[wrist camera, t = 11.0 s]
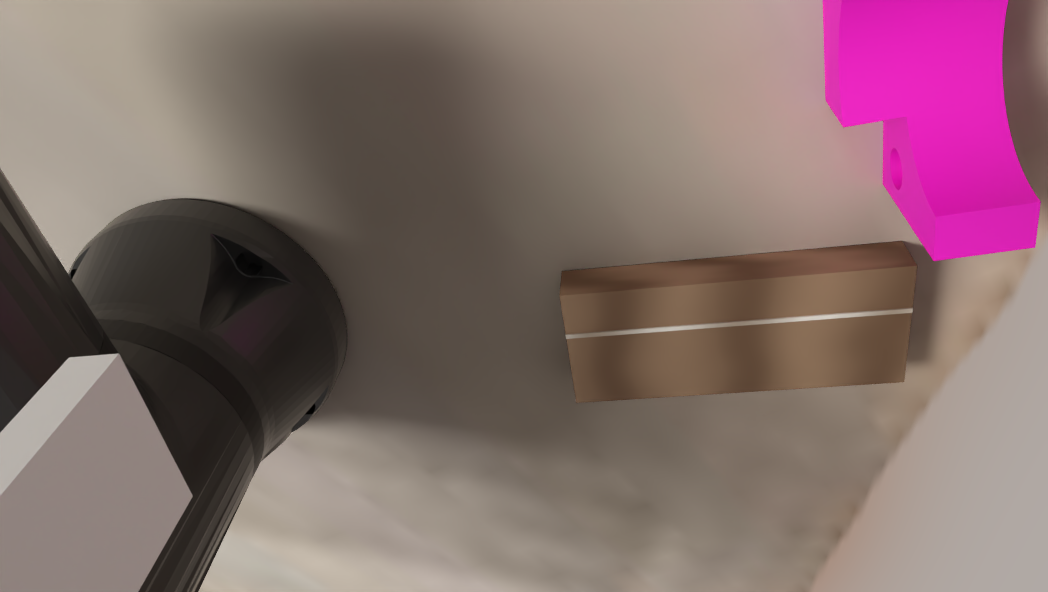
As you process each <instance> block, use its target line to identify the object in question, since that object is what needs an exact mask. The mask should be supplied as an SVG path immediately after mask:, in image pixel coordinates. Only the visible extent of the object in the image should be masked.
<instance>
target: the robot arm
mask: <svg viewBox="0 0 1048 592" xmlns="http://www.w3.org/2000/svg"><path fill="white" fill-rule="evenodd" d="M346 347H347V330H346V322H345V317H344V314H343V310H342V307H341V304H340V302H339V299H338V297H337V295H336V293H335V291H334V289H333V287H332V285H331V283H330V282H329V280H328V279H327V277H326V276H325V274H324V273H323V271H322V270H321V269H320V267H319V266H318V265H317V264H316V263H315V261H314V260H313V259H312V258H311V257H310V256H309V255H308V254H307V253H306V252H305V251H304V250H303V249H302V248H301V247H300V246H299V245H298V244H296V243H295V242H294V241H293V240H291V239H290V238H289V237H288V236H286V235H285V234H283V233H282V232H281V231H279V230H278V229H276V228H274V227H273V226H271V225H270V224H268V223H266V222H264V221H262V220H260V219H258V218H256V217H254V216H252V215H250V214H248V213H245V212H243V211H240V210H237V209H234V208H231V207H228V206H225V205H221V204H217V203H212V202H207V201H200V200H188V199H174V200H163V201H156V202H152V203H147V204H144V205H141V206H138V207H135V208H133V209H131V210H129V211H127V212H125V213H123V214H121V215H120V216H118V217H117V218H115V219H114V220H113V221H112V222H110V223H109V224H108V225H107V226H106V227H105V228H104V229H103V230H101V231H100V232H99V233H98V234H97V235H96V236H95V237H94V238H93V239H92V240H91V241H90V242H89V243H88V244H87V245H86V246H85V247H84V248H83V249H82V251H81V252H80V253H79V255H78V256H77V258H76V259H75V261H74V262H73V264H72V266H71V268H70V270H69V273H67V272H66V270H65V269H64V267H63V266H62V264H61V262H60V261H59V259H58V258H57V256H56V255H55V253H54V251H53V250H52V248H51V247H50V245H49V244H48V242H47V241H46V239H45V237H44V236H43V234H42V233H41V231H40V230H39V228H38V226H37V225H36V223H35V222H34V220H33V219H32V217H31V216H30V214H29V212H28V211H27V209H26V208H25V206H24V205H23V203H22V202H21V200H20V198H19V197H18V195H17V194H16V192H15V191H14V189H13V187H12V186H11V184H10V183H9V181H8V180H7V178H6V177H5V175H4V173H3V172H2V170H1V169H0V592H198V591H199V589H200V587H201V585H202V583H203V580H204V578H205V576H206V574H207V572H208V570H209V568H210V566H211V564H212V562H213V559H214V557H215V555H216V553H217V551H218V549H219V547H220V545H221V543H222V541H223V538H224V536H225V534H226V532H227V530H228V528H229V526H230V524H231V522H232V520H233V517H234V515H235V513H236V511H237V509H238V507H239V505H240V503H241V501H242V499H243V496H244V494H245V492H246V490H247V488H248V486H249V484H250V481H251V479H252V478H253V476H254V474H255V472H256V470H257V468H258V466H259V464H260V462H261V461H262V460H263V459H265V458H266V457H267V456H268V455H269V454H270V453H271V452H273V451H274V450H275V449H276V448H277V447H278V446H279V445H280V444H282V443H283V442H284V441H285V440H286V439H287V437H288V436H289V435H290V433H291V432H293V431H295V430H297V429H298V428H299V427H301V426H302V425H303V424H305V423H306V422H307V421H308V420H309V419H310V418H311V417H313V416H314V414H315V413H316V412H317V411H318V410H319V409H320V408H321V406H322V405H323V404H324V402H325V401H326V399H327V398H328V396H329V394H330V392H331V390H332V388H333V386H334V383H335V381H336V379H337V377H338V375H339V372H340V370H341V368H342V365H343V362H344V358H345V354H346Z"/></svg>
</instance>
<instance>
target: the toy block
mask: <svg viewBox="0 0 1048 592" xmlns="http://www.w3.org/2000/svg"><path fill="white" fill-rule="evenodd" d="M1007 5H1008V0H823V24H824V60H825V96H826V102H827V103H828V105H829V106H830V108H831V109H832V111H833V112H834V114H835V115H836V117H837V118H838V120H839V122H840V123H841V125H842V126H843V127H848V126H854V125H860V124H866V123H872V122H878V121H883V185H884V187H885V188H886V190H887V191H888V193H889V194H890V196H891V197H892V199H893V200H894V202H895V203H896V205H897V206H898V208H899V209H900V211H901V212H902V214H903V215H904V217H905V218H906V220H907V221H908V223H909V225H910V226H911V228H912V229H913V231H914V232H915V234H916V235H917V237H918V238H919V240H920V241H921V243H922V244H923V246H924V247H925V249H926V250H927V252H928V253H929V255H930V256H931V258H932V259H933V261H938V260H946V259H953V258H960V257H968V256H975V255H983V254H990V253H997V252H1005V251H1012V250H1020V249H1027V248H1035V244H1036V236H1037V228H1038V220H1039V211H1040V203H1041V202H1040V200H1039V199H1038V197H1037V196H1036V195H1035V193H1034V191H1033V190H1032V188H1031V186H1030V185H1029V183H1028V181H1027V179H1026V177H1025V175H1024V173H1023V170H1022V168H1021V165H1020V163H1019V160H1018V157H1017V154H1016V151H1015V148H1014V145H1013V141H1012V138H1011V133H1010V129H1009V125H1008V119H1007V114H1006V107H1005V100H1004V89H1003V73H1002V50H1003V34H1004V24H1005V16H1006V10H1007Z"/></svg>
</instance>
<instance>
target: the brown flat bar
mask: <svg viewBox="0 0 1048 592" xmlns="http://www.w3.org/2000/svg"><path fill="white" fill-rule="evenodd" d="M916 273H917V264H916V263H915V261H914V260H913V258H912V256H911V255H910V253H909V251H908V250H907V248H906V247H905V245H904V243H903V242H902V241H897V242H886V243H875V244H863V245H852V246H841V247H830V248H818V249H807V250H796V251H785V252H773V253H762V254H751V255H740V256H728V257H717V258H706V259H695V260H683V261H672V262H661V263H650V264H638V265H627V266H616V267H605V268H593V269H582V270H571V271H562V275H561V285H560V302H561V309H562V315H563V321H564V328H565V334H566V340H567V347H568V353H569V359H570V366H571V372H572V378H573V385H574V391H575V397H576V403H581V402H597V401H613V400H628V399H644V398H660V397H676V396H691V395H707V394H723V393H739V392H754V391H770V390H786V389H802V388H818V387H833V386H849V385H865V384H881V383H896V382H904V379H905V370H906V361H907V352H908V343H909V335H910V326H911V317H912V313H913V299H914V291H915V282H916Z"/></svg>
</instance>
